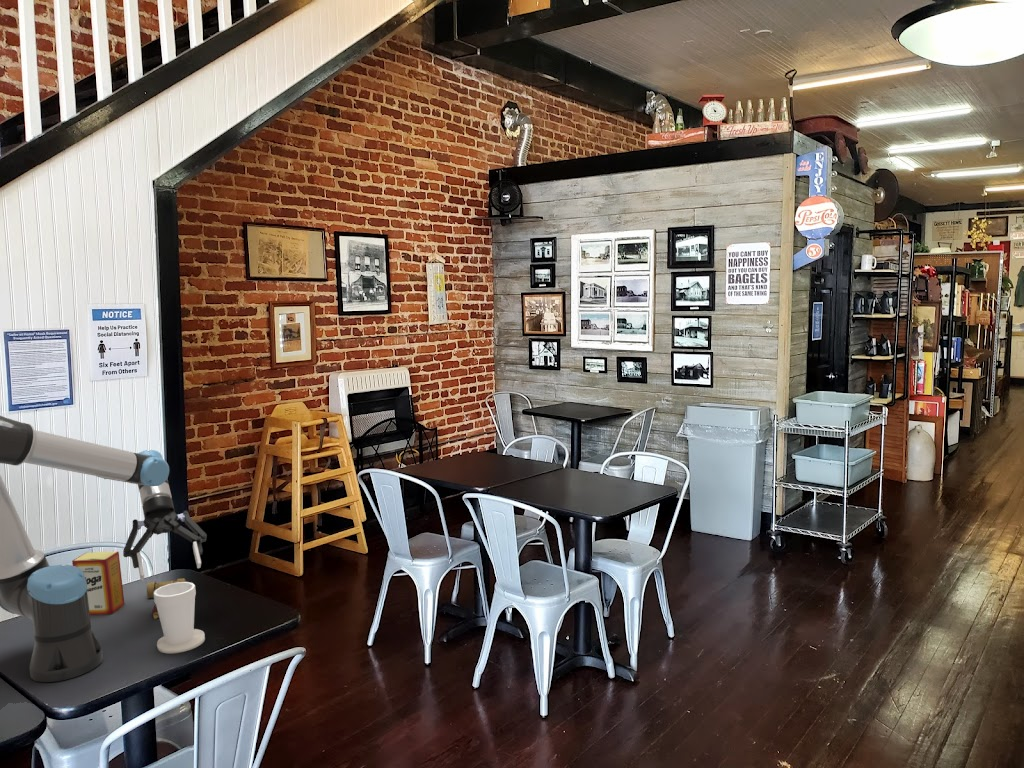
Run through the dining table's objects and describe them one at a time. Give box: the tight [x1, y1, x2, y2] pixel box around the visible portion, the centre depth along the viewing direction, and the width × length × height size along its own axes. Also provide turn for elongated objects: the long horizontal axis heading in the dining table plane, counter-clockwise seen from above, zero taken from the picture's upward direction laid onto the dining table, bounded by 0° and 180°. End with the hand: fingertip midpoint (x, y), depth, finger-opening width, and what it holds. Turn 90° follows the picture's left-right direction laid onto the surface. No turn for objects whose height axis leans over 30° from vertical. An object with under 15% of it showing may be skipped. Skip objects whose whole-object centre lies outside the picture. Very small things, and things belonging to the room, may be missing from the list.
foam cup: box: [153, 581, 197, 645], centre depth 194 cm, size 10×9×13 cm
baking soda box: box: [71, 551, 126, 616], centre depth 218 cm, size 10×6×16 cm
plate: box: [156, 628, 206, 654], centre depth 195 cm, size 11×11×1 cm
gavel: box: [146, 578, 187, 620], centre depth 220 cm, size 21×5×10 cm
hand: (171, 571), depth 201 cm, fingers open, 13 cm apart
